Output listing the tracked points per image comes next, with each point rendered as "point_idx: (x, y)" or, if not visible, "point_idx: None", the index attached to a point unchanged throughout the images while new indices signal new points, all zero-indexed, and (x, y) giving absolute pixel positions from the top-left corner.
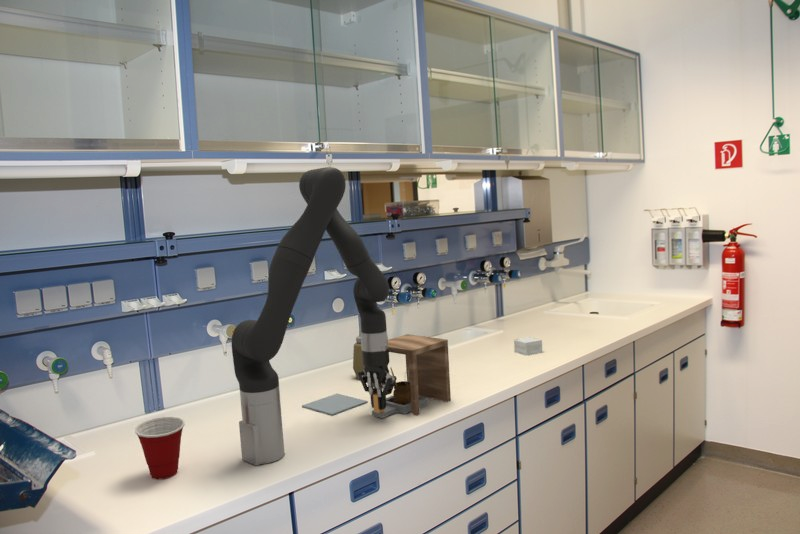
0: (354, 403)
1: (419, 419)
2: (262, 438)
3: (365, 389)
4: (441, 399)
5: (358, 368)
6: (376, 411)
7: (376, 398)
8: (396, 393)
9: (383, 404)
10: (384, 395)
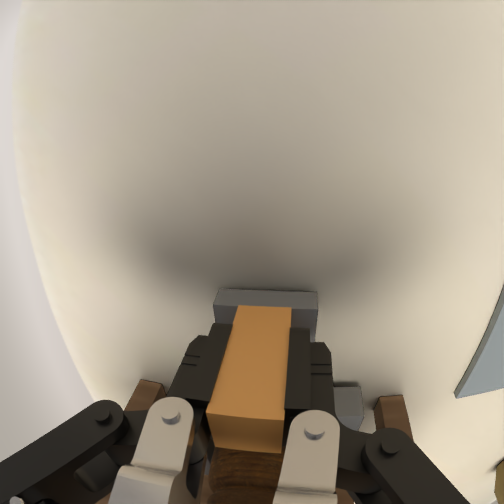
0: (500, 351)
1: (96, 351)
2: None
3: (391, 447)
4: (206, 476)
5: None
6: (263, 311)
7: (236, 389)
8: (256, 474)
9: (186, 359)
10: (104, 404)
